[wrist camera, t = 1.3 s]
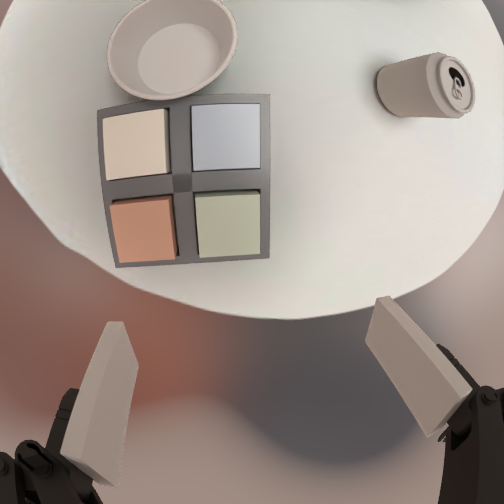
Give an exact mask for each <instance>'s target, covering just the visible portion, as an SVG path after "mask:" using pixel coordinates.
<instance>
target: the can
mask: <svg viewBox="0 0 504 504" xmlns="http://www.w3.org/2000/svg"><path fill="white" fill-rule="evenodd" d="M377 89H378V94H379V96H380V98H381V100H382V102H383V104H384V105H385V106H386V108H387V109H388V110H389V111H390V112H392V113H393V114H394V115H397V116H400V117H436V118H460V117H462V116H464V114H465V113H468V112H470V111H471V110H472V108H473V106H474V102H475V89H474V84H473V81H472V78H471V76H470V74H469V72H468V71H467V69H466V67H465V66H464V65H463V64H462V63H461V62H460V61H459V60H458V59H456V58H455V57H451V56H447V55H446V54H443V53H439V52H437V53H433V54H428V55H424V56H420V57H416V58H412V59H408V60H404V61H400V62H397V63H393V64H390V65H387V66H384V67H383V68H382V69H381V70H380V71H379V74H378V77H377Z"/></svg>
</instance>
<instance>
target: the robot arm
mask: <svg viewBox="0 0 504 504" xmlns="http://www.w3.org/2000/svg"><path fill="white" fill-rule="evenodd" d="M365 342H366V344H367V345H368V346H369V348H370V349H371V351H372V352H373V354H374V355H375V357H376V358H377V360H378V361H379V363H380V364H381V366H382V367H383V369H384V370H385V372H386V373H387V374H388V376H389V378H390V379H391V381H392V382H393V384H394V385H395V387H396V389H397V390H398V392H399V393H400V395H401V396H402V398H403V400H404V401H405V403H406V404H407V406H408V407H409V409H410V411H411V412H412V414H413V415H414V417H415V419H416V420H417V422H418V424H419V425H420V427H421V428H422V430H423V432H424V433H425V435H426V437H429V436H430V435H432V434H434V433H436V432H437V431H439V430H440V429H441V428H442V427H443V426H444V425H445V423H446V422H447V423H448V425H449V426H448V427H447V429H446V430H445V431H444V432H443V433H442V434H441V435H440V437H439V439H438V442H440V441H441V440H442V439H443V438H444V437H445V436H446V438H444V440H443V442H446V444H445V458H444V467H443V468H444V469H443V477H442V483H441V489H440V496H439V501H438V504H504V388H501V389H498V390H495V389H493V388H492V387H490V386H482V387H480V386H479V385H478V384H477V383H476V382H475V380H474V379H473V378H472V377H471V376H470V374H469V373H468V372H467V371H466V370H465V369H464V367H463V366H462V365H460V364H459V362H458V361H457V359H455V358H454V356H453V355H452V354H451V353H450V351H449V350H448V349H446V348H445V347H443V346H441V345H440V344H437V345H435V344H434V343H433V342H432V341H431V340H430V338H429V337H428V336H427V335H426V334H425V333H424V332H423V331H422V330H421V329H420V328H419V327H418V325H417V324H416V323H415V322H414V321H413V320H412V319H411V318H410V317H409V316H408V315H407V314H406V313H405V312H404V311H403V310H402V309H401V308H400V306H398V305H397V303H396V302H395V301H394V300H393V299H392V298H391V297H390V296H385V297H380V298H377V299H376V303H375V307H374V311H373V315H372V318H371V322H370V326H369V329H368V332H367V336H366V339H365ZM138 367H139V364H138V362H137V359H136V357H135V354H134V351H133V349H132V346H131V343H130V341H129V338H128V335H127V332H126V330H125V326H124V323H123V322H107V324H106V326H105V329H104V331H103V333H102V335H101V337H100V340H99V342H98V344H97V347H96V349H95V351H94V354H93V356H92V359H91V361H90V364H89V366H88V369H87V371H86V374H85V376H84V379H83V382H82V385H81V387H80V389H73V388H70V389H69V390H68V391H67V392H66V394H65V395H64V396H63V397H62V400H61V402H60V405H59V410H58V411H57V413H56V419H54V422H53V425H52V428H51V431H50V435H49V438H48V441H47V444H46V447H45V448H43V447H42V446H41V445H40V444H39V443H38V442H37V441H33V440H25V441H23V442H21V443H20V444H19V445H18V447H17V448H16V451H15V459H13V458H11V457H10V456H9V455H8V454H7V453H4V452H0V504H103V503H102V501H101V499H100V497H99V496H98V494H97V492H96V490H95V489H94V488H93V486H92V482H93V480H94V481H96V482H97V483H98V484H100V485H104V486H109V487H114V488H119V478H120V469H121V461H122V453H123V446H124V440H125V433H126V427H127V422H128V416H129V410H130V405H131V399H132V395H133V390H134V385H135V380H136V376H137V372H138ZM25 498H26V499H25Z"/></svg>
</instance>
